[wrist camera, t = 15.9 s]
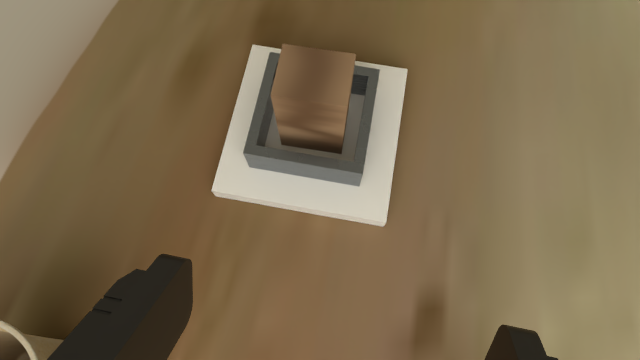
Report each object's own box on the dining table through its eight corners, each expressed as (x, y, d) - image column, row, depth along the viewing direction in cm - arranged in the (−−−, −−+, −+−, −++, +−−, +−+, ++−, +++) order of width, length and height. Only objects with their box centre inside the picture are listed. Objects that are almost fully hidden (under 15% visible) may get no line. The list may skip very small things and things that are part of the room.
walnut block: (348, 111, 36) (356, 54, 28) (341, 154, 34) (347, 106, 27) (290, 102, 36) (282, 43, 28) (281, 144, 35) (270, 95, 27)
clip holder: (404, 78, 38) (414, 48, 34) (383, 226, 34) (392, 212, 30) (255, 54, 39) (247, 22, 35) (215, 196, 35) (201, 178, 31)
